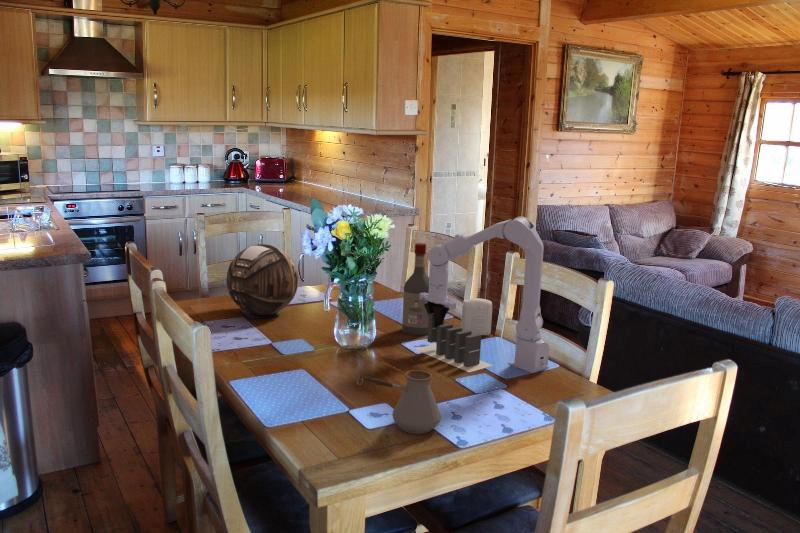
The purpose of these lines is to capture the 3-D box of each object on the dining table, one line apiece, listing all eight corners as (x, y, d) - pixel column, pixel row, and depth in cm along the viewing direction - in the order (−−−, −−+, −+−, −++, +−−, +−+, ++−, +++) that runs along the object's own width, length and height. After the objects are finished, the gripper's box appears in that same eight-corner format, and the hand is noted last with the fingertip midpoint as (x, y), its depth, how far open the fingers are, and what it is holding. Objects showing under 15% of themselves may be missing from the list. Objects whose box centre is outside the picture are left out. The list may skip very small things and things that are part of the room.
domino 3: (460, 356, 212) (462, 327, 210) (448, 359, 209) (450, 330, 207) (456, 354, 214) (458, 326, 212) (444, 357, 210) (446, 329, 208)
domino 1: (442, 340, 218) (444, 312, 216) (430, 342, 215) (432, 314, 213) (439, 338, 219) (440, 311, 217) (427, 341, 216) (428, 313, 214)
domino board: (493, 366, 206) (493, 365, 205) (469, 373, 199) (469, 372, 199) (438, 344, 224) (438, 343, 223) (414, 350, 217) (414, 349, 217)
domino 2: (451, 352, 215) (453, 324, 213) (439, 355, 212) (441, 327, 210) (447, 351, 217) (449, 323, 215) (435, 354, 213) (437, 325, 211)
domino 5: (479, 364, 206) (481, 334, 204) (467, 367, 203) (469, 337, 201) (475, 362, 208) (477, 333, 206) (463, 365, 204) (465, 336, 202)
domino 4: (469, 360, 209) (471, 331, 207) (457, 363, 206) (459, 334, 204) (466, 358, 211) (467, 329, 209) (454, 361, 207) (455, 332, 205)
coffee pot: (424, 413, 172) (426, 355, 168) (450, 431, 162) (453, 370, 159) (345, 429, 161) (346, 367, 158) (368, 450, 151) (370, 385, 148)
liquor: (428, 336, 231) (432, 247, 224) (401, 334, 232) (404, 245, 226) (431, 328, 240) (436, 242, 233) (405, 326, 241) (409, 241, 235)
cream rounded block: (488, 332, 238) (491, 297, 236) (492, 336, 234) (494, 300, 232) (459, 332, 237) (461, 297, 234) (462, 336, 233) (464, 300, 230)
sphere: (312, 312, 254) (313, 244, 249) (264, 328, 233) (264, 255, 228) (261, 300, 267) (261, 236, 261) (211, 315, 246) (210, 245, 241)
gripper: (464, 287, 210) (461, 330, 213) (432, 277, 221) (430, 318, 224) (447, 290, 206) (444, 334, 208) (415, 280, 216) (413, 322, 219)
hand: (436, 326), depth 216 cm, fingers closed on domino 1, 2 cm apart
